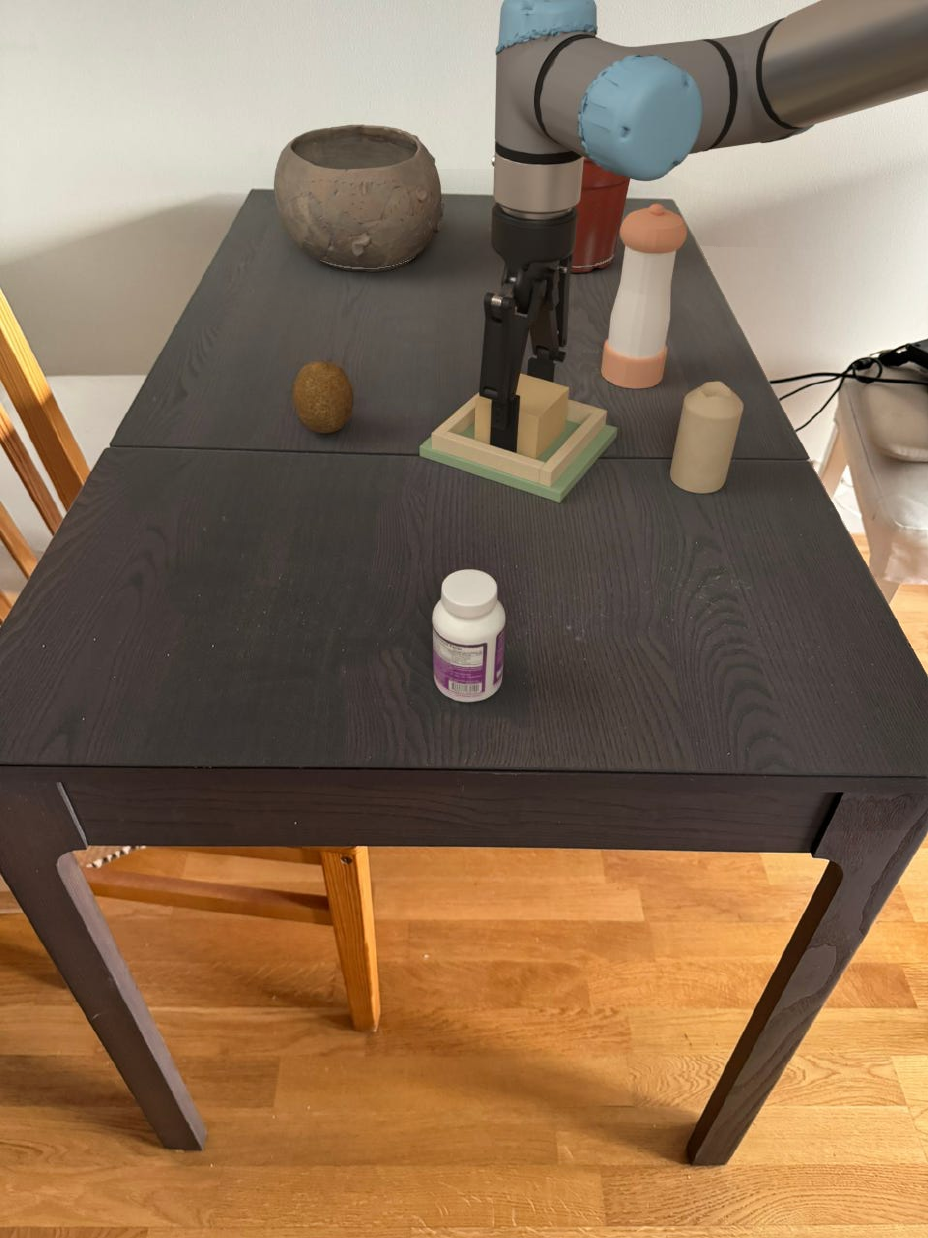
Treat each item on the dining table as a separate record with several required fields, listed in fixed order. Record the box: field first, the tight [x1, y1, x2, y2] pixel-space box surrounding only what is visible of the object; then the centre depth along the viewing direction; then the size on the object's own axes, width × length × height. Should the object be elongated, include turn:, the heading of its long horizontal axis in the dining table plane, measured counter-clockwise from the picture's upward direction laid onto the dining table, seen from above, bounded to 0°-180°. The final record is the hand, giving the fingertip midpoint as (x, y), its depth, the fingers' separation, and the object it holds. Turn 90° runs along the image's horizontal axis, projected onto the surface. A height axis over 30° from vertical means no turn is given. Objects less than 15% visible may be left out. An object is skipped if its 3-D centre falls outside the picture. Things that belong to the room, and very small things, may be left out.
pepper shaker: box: [600, 203, 688, 390], centre depth 103 cm, size 7×7×19 cm
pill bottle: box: [431, 568, 507, 703], centre depth 69 cm, size 5×5×10 cm
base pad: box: [419, 391, 619, 503], centre depth 96 cm, size 16×14×3 cm
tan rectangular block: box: [474, 372, 570, 460], centre depth 94 cm, size 7×7×5 cm
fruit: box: [292, 360, 355, 435], centre depth 96 cm, size 6×6×8 cm
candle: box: [669, 381, 744, 494], centre depth 90 cm, size 6×6×10 cm
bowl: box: [273, 124, 446, 273], centre depth 129 cm, size 23×23×15 cm
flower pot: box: [571, 157, 632, 274], centre depth 129 cm, size 16×16×16 cm
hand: (520, 434), depth 96 cm, fingers closed on tan rectangular block, 7 cm apart
